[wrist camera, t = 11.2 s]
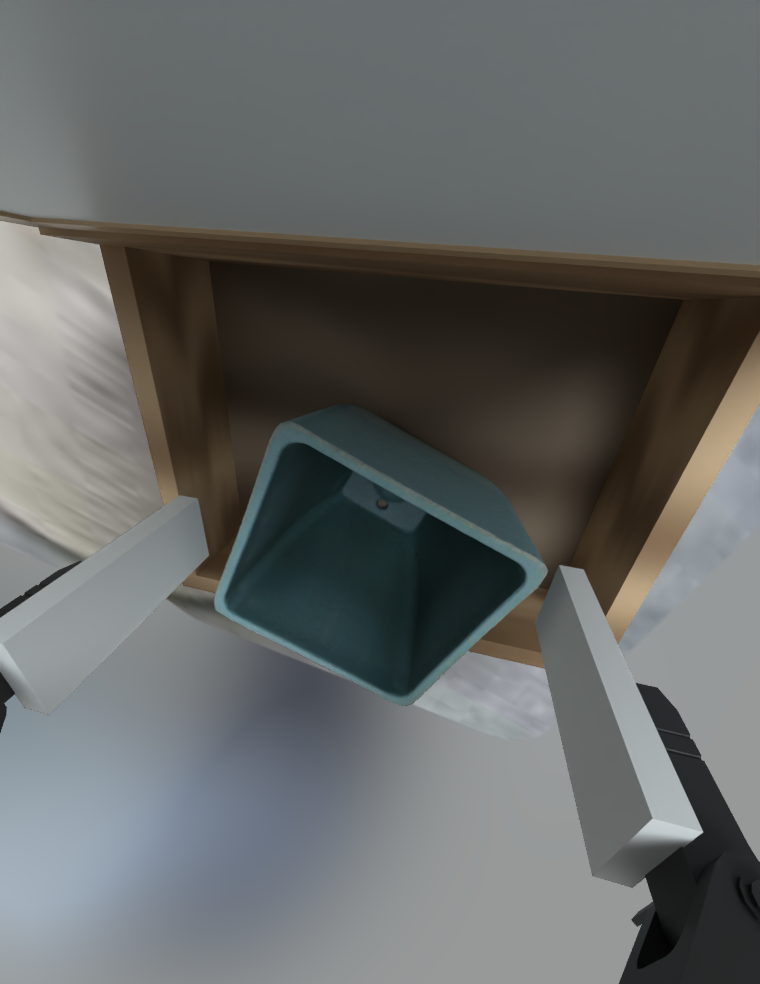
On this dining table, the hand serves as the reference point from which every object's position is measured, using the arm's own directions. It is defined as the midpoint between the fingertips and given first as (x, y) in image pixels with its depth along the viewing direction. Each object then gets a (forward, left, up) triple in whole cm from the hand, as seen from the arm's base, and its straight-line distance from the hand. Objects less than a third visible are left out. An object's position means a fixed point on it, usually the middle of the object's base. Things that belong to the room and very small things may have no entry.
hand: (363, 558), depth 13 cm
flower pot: (0, 0, -8) cm, 8 cm away
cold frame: (-2, 0, -8) cm, 8 cm away
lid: (-10, 0, 0) cm, 10 cm away
